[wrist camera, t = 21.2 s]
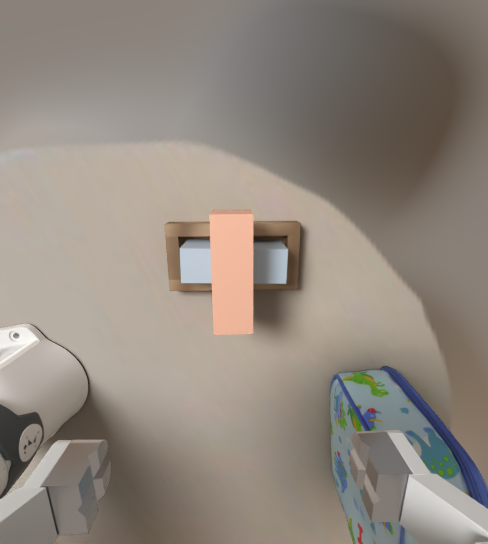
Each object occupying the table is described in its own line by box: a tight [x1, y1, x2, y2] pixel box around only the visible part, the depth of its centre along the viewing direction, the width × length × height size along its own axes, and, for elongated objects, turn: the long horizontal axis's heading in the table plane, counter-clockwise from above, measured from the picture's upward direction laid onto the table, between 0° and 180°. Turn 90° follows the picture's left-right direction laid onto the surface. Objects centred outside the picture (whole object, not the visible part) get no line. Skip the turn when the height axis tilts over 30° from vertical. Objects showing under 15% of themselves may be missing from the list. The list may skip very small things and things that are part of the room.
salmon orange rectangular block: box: [209, 210, 253, 335], centre depth 31 cm, size 12×4×5 cm, turn 0°
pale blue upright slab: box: [180, 239, 288, 284], centre depth 36 cm, size 12×4×6 cm, turn 89°
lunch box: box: [330, 366, 488, 544], centre depth 38 cm, size 26×11×21 cm, turn 7°
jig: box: [165, 221, 301, 291], centre depth 39 cm, size 16×8×3 cm, turn 90°
